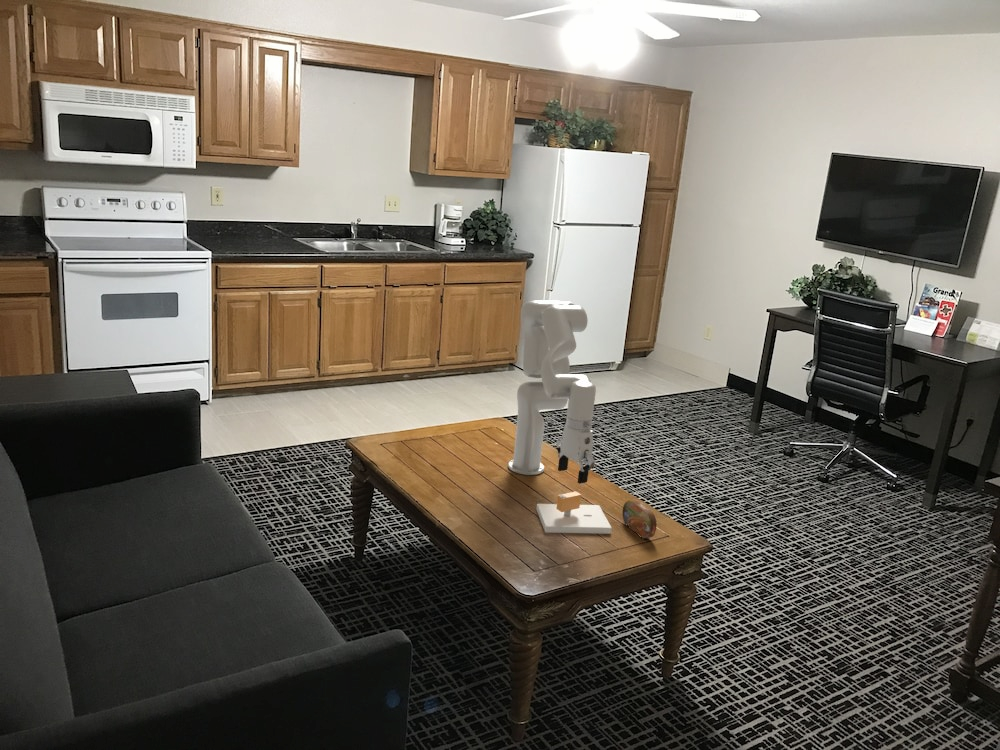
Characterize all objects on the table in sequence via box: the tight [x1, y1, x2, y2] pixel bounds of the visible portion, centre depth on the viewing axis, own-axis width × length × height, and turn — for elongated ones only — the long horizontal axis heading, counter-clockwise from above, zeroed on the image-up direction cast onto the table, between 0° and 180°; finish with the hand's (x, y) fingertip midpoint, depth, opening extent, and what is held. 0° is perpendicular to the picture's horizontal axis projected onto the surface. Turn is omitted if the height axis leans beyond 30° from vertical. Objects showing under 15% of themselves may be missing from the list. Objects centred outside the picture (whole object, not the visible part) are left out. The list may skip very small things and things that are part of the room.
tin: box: [622, 500, 658, 539], centre depth 242 cm, size 15×3×8 cm, turn 23°
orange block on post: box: [556, 490, 582, 512], centre depth 243 cm, size 7×2×5 cm, turn 124°
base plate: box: [536, 503, 612, 535], centre depth 245 cm, size 15×20×4 cm
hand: (572, 476), depth 241 cm, fingers open, 9 cm apart
